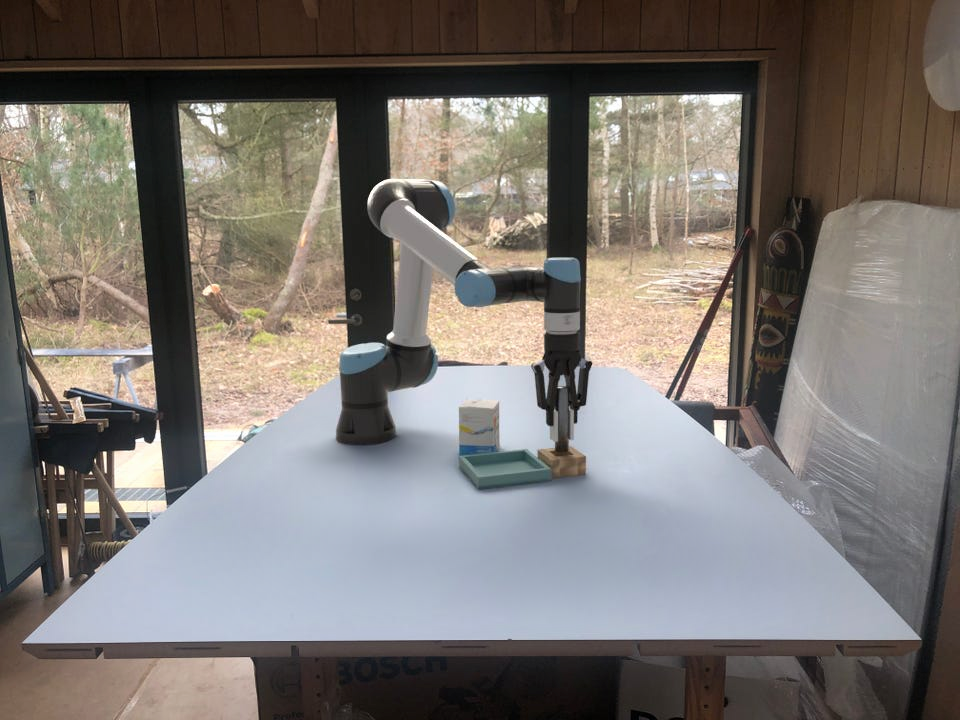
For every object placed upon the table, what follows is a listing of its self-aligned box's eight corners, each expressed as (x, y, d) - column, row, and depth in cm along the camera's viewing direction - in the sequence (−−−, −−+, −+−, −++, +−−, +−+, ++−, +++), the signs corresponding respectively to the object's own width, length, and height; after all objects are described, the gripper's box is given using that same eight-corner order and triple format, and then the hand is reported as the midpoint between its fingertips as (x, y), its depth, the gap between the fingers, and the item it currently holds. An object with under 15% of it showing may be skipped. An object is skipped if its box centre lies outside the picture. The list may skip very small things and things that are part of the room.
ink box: (494, 457, 176) (493, 407, 174) (458, 455, 177) (457, 406, 175) (500, 446, 184) (500, 399, 182) (466, 444, 186) (465, 398, 184)
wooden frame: (551, 478, 160) (551, 460, 160) (537, 466, 168) (537, 449, 167) (585, 474, 163) (586, 456, 162) (570, 463, 170) (571, 446, 170)
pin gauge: (558, 452, 163) (558, 389, 160) (552, 449, 165) (552, 386, 163) (570, 451, 163) (571, 388, 161) (565, 447, 166) (565, 385, 164)
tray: (478, 489, 154) (478, 477, 154) (459, 467, 169) (458, 456, 168) (551, 480, 159) (551, 469, 158) (526, 459, 173) (526, 448, 173)
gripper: (532, 336, 154) (533, 447, 158) (604, 331, 159) (603, 440, 163) (520, 331, 161) (520, 438, 165) (589, 327, 166) (588, 431, 170)
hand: (561, 438), depth 164 cm, fingers closed on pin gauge, 3 cm apart
